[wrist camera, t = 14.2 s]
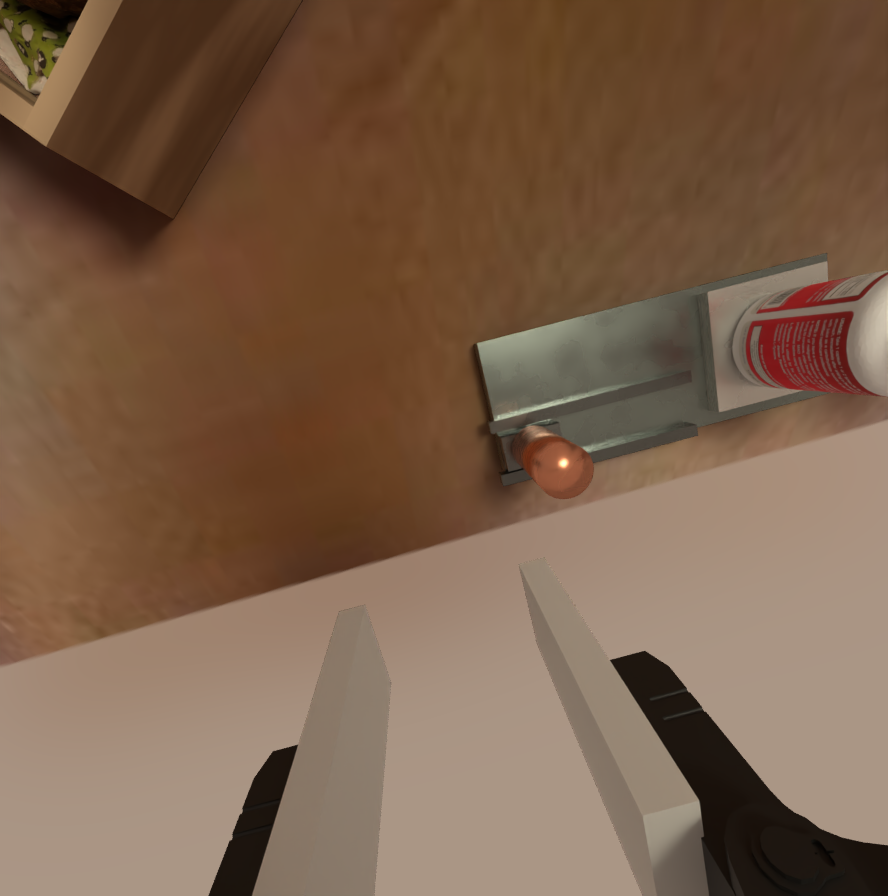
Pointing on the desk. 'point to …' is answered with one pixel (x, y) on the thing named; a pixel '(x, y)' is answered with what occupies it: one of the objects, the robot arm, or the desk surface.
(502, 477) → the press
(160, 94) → the bear crate
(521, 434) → the lever
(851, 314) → the pill bottle
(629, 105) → the desk surface
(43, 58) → the bear figurine
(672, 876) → the robot arm
